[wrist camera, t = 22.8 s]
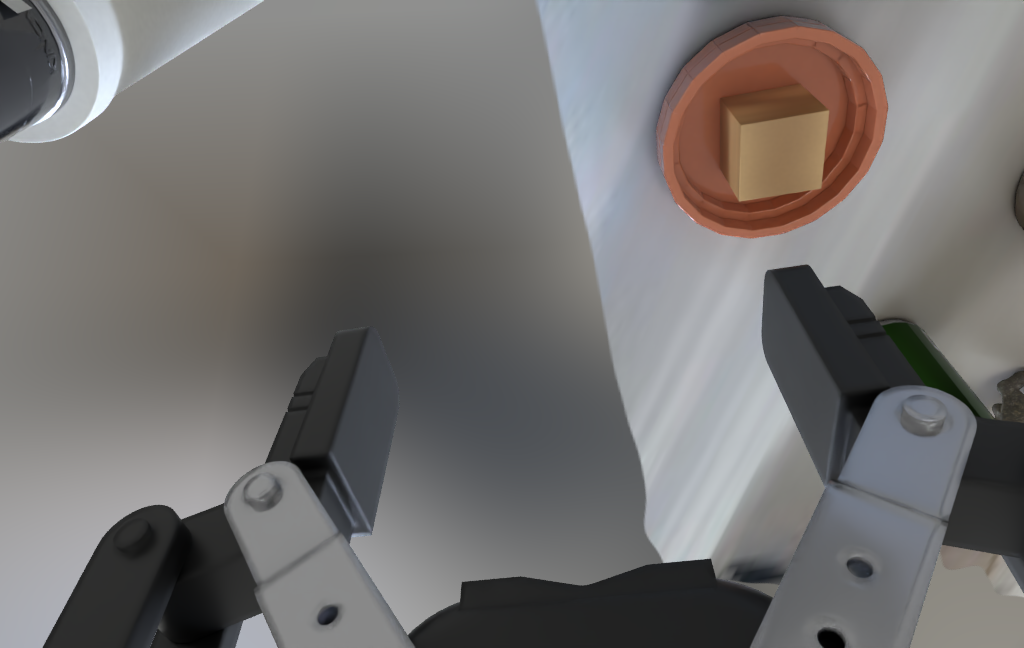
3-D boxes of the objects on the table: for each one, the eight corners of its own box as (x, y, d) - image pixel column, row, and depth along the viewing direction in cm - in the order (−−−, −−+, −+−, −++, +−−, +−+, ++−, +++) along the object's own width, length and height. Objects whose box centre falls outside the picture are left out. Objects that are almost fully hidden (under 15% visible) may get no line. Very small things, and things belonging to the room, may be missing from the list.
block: (719, 169, 41) (738, 202, 37) (720, 97, 38) (740, 125, 34) (794, 157, 40) (821, 189, 36) (800, 83, 37) (829, 109, 34)
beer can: (900, 303, 47) (997, 423, 37) (935, 344, 49) (1035, 467, 40) (833, 345, 49) (908, 468, 40) (868, 382, 52) (947, 507, 42)
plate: (660, 228, 44) (668, 251, 41) (649, 37, 36) (658, 52, 34) (850, 199, 42) (870, 220, 40) (878, -6, 35) (904, 5, 33)
